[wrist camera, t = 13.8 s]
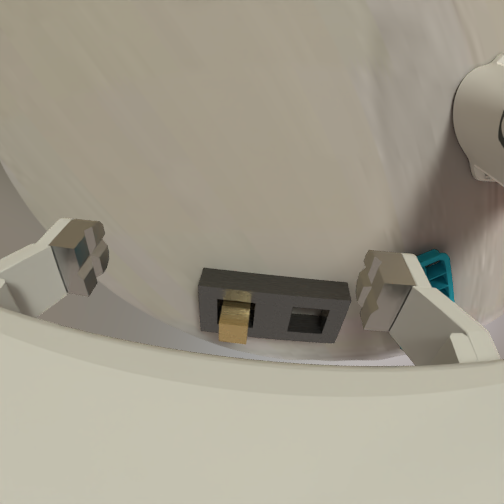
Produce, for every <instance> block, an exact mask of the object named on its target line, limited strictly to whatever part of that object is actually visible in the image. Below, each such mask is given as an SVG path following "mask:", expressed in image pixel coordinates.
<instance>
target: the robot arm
mask: <svg viewBox="0 0 504 504" xmlns="http://www.w3.org/2000/svg"><path fill="white" fill-rule="evenodd" d="M453 124H454V129H455V133H456V137H457V139H458V142H459V144H460V146H461V148H462V149H463V151H464V152H465V154H466V155H467V157H468V159H469V162H470V168H471V173H472V175H473V177H474V178H475V179H477V180H479V181H491V182H498V183H499V184H500V185H502V186H503V187H504V54H499V55H498V56H497V57H496V58H495V59H494V60H493V61H492V62H491V63H489V64H487V65H483V66H480V67H477V68H475V69H474V70H472V71H471V72H470V73H468V74H467V75H466V77H465V78H464V79H463V81H462V82H461V84H460V86H459V88H458V90H457V93H456V96H455V100H454V106H453ZM104 235H105V231H104V227H103V224H102V223H101V222H100V221H91V220H82V219H73V218H60V219H59V220H58V221H57V222H56V223H55V224H54V225H53V226H52V227H51V228H50V229H49V230H48V231H47V232H46V233H45V234H44V236H43V237H42V238H41V239H40V240H39V241H38V242H37V243H36V244H31V245H28V246H26V247H24V248H22V249H20V250H18V251H16V252H14V253H12V254H10V255H8V256H6V257H4V258H2V259H0V504H504V359H501V358H500V356H499V354H498V352H497V350H496V347H495V345H494V343H493V340H492V338H491V336H490V334H489V332H488V331H487V330H486V329H485V328H484V327H482V326H481V325H480V324H479V323H478V322H477V321H476V320H474V319H473V318H472V317H471V316H470V315H468V314H467V313H466V312H465V311H464V310H462V309H461V308H460V307H459V306H458V305H456V304H455V303H454V302H453V301H452V300H450V299H449V298H448V297H447V296H445V295H444V294H443V293H442V292H440V291H439V290H438V289H437V288H432V287H431V285H430V283H429V281H428V279H427V277H426V275H425V273H424V271H423V269H422V267H421V265H420V263H419V261H418V259H417V257H416V256H415V255H414V254H410V253H396V252H386V251H376V250H368V252H367V254H366V256H365V259H364V264H365V267H366V268H365V269H364V270H362V271H361V272H360V273H359V276H358V279H357V284H356V298H357V303H358V304H359V305H361V306H362V309H361V312H360V316H361V321H362V325H363V329H364V330H373V331H388V332H389V334H390V335H391V336H392V337H393V339H394V340H395V341H396V342H397V343H398V345H399V346H400V347H401V348H402V350H403V351H404V352H405V353H406V355H407V356H408V357H409V358H410V360H411V361H412V362H413V363H414V365H415V366H337V365H315V364H314V365H313V364H298V363H284V362H272V361H262V360H252V359H243V358H234V357H226V356H218V355H210V354H203V353H195V352H189V351H183V350H177V349H170V348H164V347H159V346H153V345H148V344H142V343H137V342H132V341H127V340H122V339H118V338H113V337H108V336H104V335H99V334H95V333H91V332H87V331H83V330H78V329H74V328H70V327H67V326H63V325H59V324H55V323H52V322H48V321H45V320H41V319H38V318H37V317H38V316H40V315H41V314H42V313H44V312H45V311H46V310H47V309H49V308H50V307H51V306H53V305H54V304H55V303H57V302H58V301H59V300H61V299H62V298H63V297H65V296H66V295H67V293H69V294H75V295H81V296H87V297H89V296H90V294H91V293H92V291H93V289H94V288H95V286H96V284H97V278H96V277H98V276H100V275H102V274H103V273H104V271H105V270H106V268H107V265H108V261H109V250H108V245H107V244H106V243H105V242H104V241H103V237H104Z"/></svg>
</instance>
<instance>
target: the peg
mask: <svg viewBox="0 0 504 504" xmlns="http://www.w3.org/2000/svg"><path fill="white" fill-rule="evenodd" d="M250 306H251V303H249V302H240V301H231V300H224V301H223V305H222V310H221V315H220V320H219V341H223V342H231V343H240V344H246V341H247V332H248V323H249V315H250Z"/></svg>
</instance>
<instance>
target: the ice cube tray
mask: <svg viewBox="0 0 504 504" xmlns="http://www.w3.org/2000/svg"><path fill="white" fill-rule="evenodd" d="M416 257H417V259H418V261H419V263H420V265H421V267H422V269H423V271H424V273H425V275H426V277H427V279H428V281H429V283H430V285H431V287H432V288H437V289H438V290H439V291H440V292H442V293H443V294H444V295H445V296H447V297H448V298H449V299H450V300H452V301H453V302H454V292H453V282H452V273H451V265H450V258H449V256H448V255H447V254H446V253H439V252H438V250H435V249H433V250H431V251H428V252H426V253H424V254H421V255H419V256H416ZM438 260H440V262H438V263H436V264H434V265H431V266H429V267H427V268H425V266H427V265H429V264H431V263H434V262H436V261H438ZM400 349H402V348H401V347H400Z"/></svg>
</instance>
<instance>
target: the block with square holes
mask: <svg viewBox="0 0 504 504" xmlns="http://www.w3.org/2000/svg"><path fill="white" fill-rule="evenodd" d="M198 289H199V308H200V325H201V331H207V332H215V333H219V320H220V315H221V310H222V306H221V299H222V300H231V301H240V302H249V303H255V310H251V309H250V315H249V323H248V332H247V336H249V337H259V338H269V339H280V340H292V341H305V342H320V343H334V342H335V340H336V338H337V335H338V333H339V331H340V328H341V326H342V323H343V321H344V318H345V316H346V313H347V311H348V308H349V306H350V303H351V297H350V292H349V288H348V283H346V282H335V281H324V280H314V279H304V278H294V277H284V276H274V275H264V274H255V273H245V272H236V271H227V270H218V269H209V268H204V269H203V272H202V275H201V278H200V282H199V285H198ZM293 307H300V308H311V309H322V311H321V314H320V316H315V315H303V314H292V308H293Z"/></svg>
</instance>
